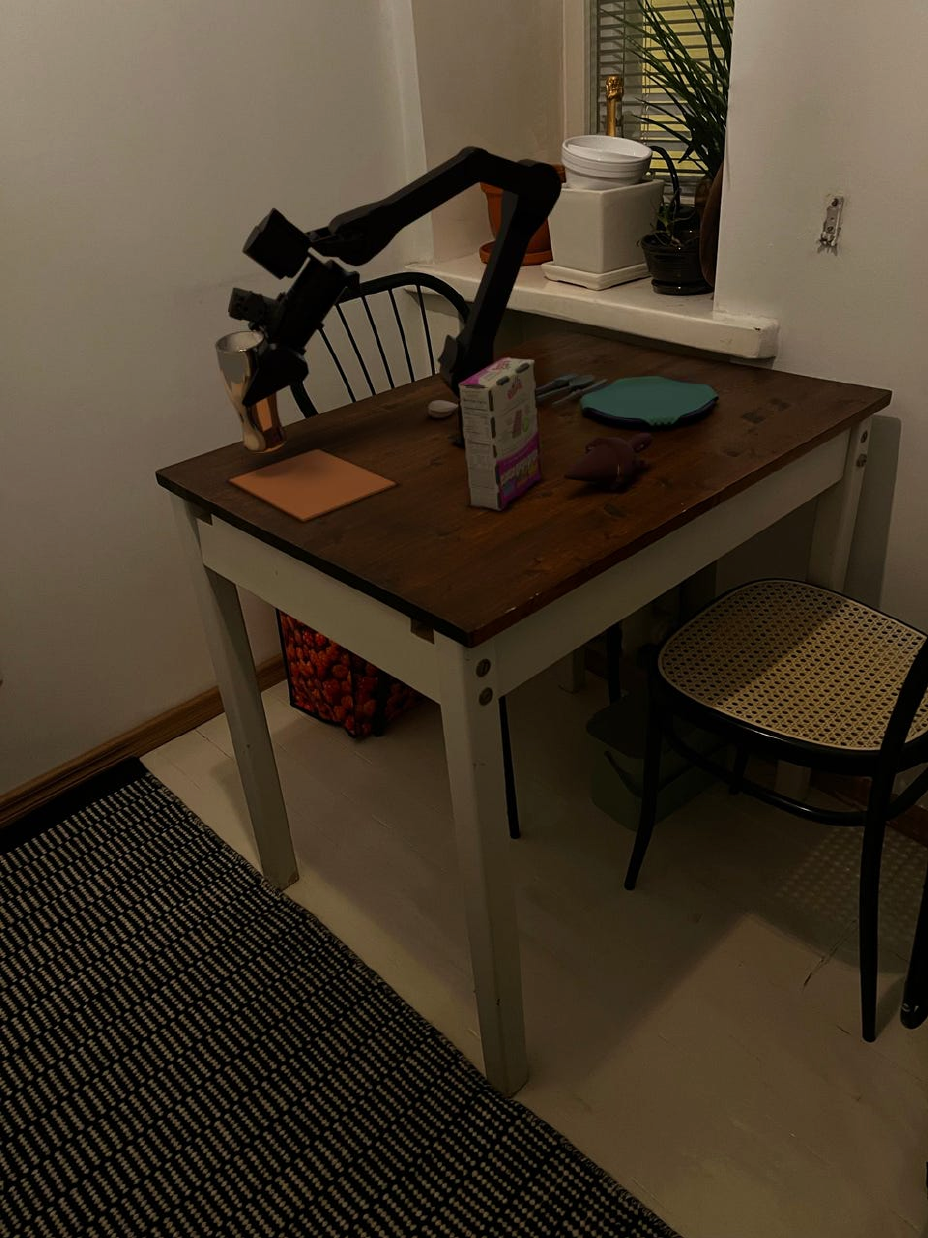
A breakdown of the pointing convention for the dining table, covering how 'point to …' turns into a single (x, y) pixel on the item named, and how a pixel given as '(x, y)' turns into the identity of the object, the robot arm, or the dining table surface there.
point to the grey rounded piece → (441, 408)
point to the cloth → (311, 484)
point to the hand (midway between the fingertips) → (242, 397)
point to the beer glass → (237, 374)
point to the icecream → (610, 461)
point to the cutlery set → (637, 398)
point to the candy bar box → (500, 432)
